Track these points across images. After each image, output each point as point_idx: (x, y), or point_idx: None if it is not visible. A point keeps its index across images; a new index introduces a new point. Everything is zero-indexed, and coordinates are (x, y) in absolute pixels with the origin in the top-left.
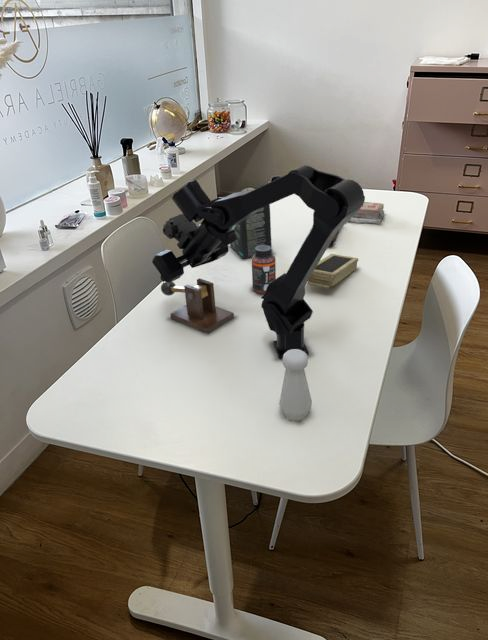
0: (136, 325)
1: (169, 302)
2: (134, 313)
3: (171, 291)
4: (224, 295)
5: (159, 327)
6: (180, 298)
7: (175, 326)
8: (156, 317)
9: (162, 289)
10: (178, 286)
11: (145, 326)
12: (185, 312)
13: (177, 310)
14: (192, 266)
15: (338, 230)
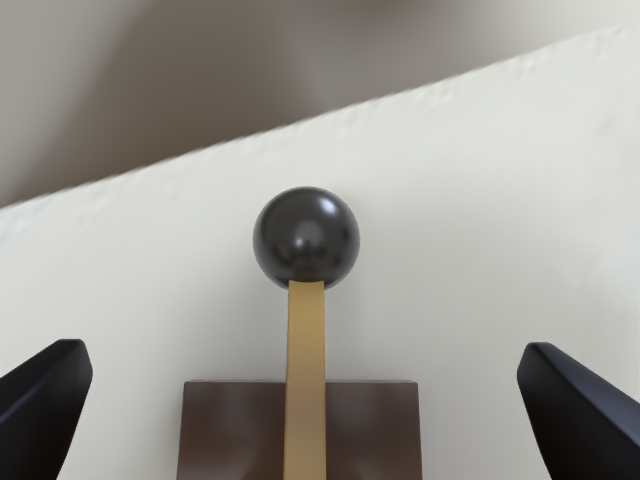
0: (36, 276)
1: None
2: (133, 172)
3: (287, 289)
4: None
5: None
6: (393, 250)
7: (137, 475)
8: (160, 300)
9: (253, 232)
10: (320, 335)
11: (51, 325)
12: (245, 458)
13: (236, 394)
14: (527, 392)
15: None
